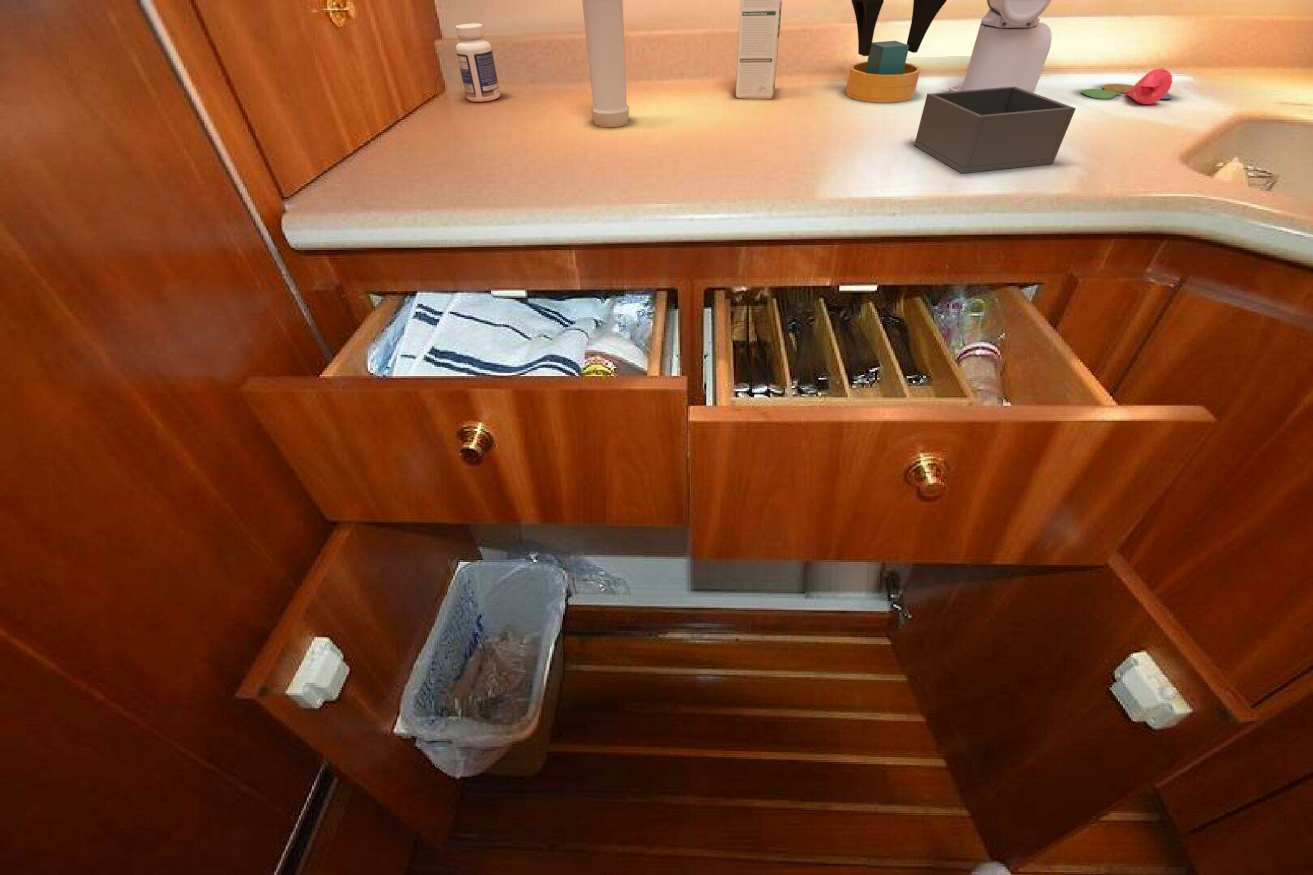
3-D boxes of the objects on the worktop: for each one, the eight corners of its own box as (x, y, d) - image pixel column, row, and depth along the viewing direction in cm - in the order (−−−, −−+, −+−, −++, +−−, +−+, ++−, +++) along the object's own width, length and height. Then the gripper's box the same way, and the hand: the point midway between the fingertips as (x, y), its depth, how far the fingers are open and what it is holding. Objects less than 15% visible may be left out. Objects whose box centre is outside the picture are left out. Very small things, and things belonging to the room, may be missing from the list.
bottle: (615, 129, 79) (598, -125, 62) (585, 124, 82) (560, -123, 65) (636, 120, 83) (625, -125, 66) (607, 115, 85) (589, -123, 68)
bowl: (893, 84, 94) (899, 58, 91) (926, 99, 87) (933, 72, 84) (835, 89, 93) (839, 63, 90) (863, 105, 85) (869, 77, 83)
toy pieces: (1198, 103, 82) (1217, 66, 79) (1129, 110, 80) (1146, 72, 77) (1129, 83, 90) (1144, 50, 87) (1065, 89, 89) (1079, 55, 86)
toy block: (886, 86, 91) (895, 40, 87) (898, 92, 88) (909, 45, 84) (862, 88, 90) (870, 42, 86) (874, 94, 88) (883, 47, 83)
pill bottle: (502, 93, 96) (489, 21, 90) (498, 101, 92) (484, 27, 86) (469, 95, 96) (454, 23, 90) (464, 103, 92) (447, 28, 86)
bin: (996, 137, 73) (1014, 86, 69) (1053, 163, 65) (1076, 108, 62) (913, 145, 71) (927, 93, 68) (961, 173, 64) (979, 116, 60)
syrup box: (772, 99, 89) (784, -22, 79) (733, 98, 90) (740, -21, 80) (774, 90, 93) (786, -26, 83) (737, 89, 94) (744, -26, 84)
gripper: (946, -73, 81) (918, 45, 90) (848, -68, 79) (830, 51, 88) (977, -71, 75) (944, 53, 85) (872, -66, 74) (850, 60, 83)
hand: (887, 53), depth 86 cm, fingers open, 7 cm apart
